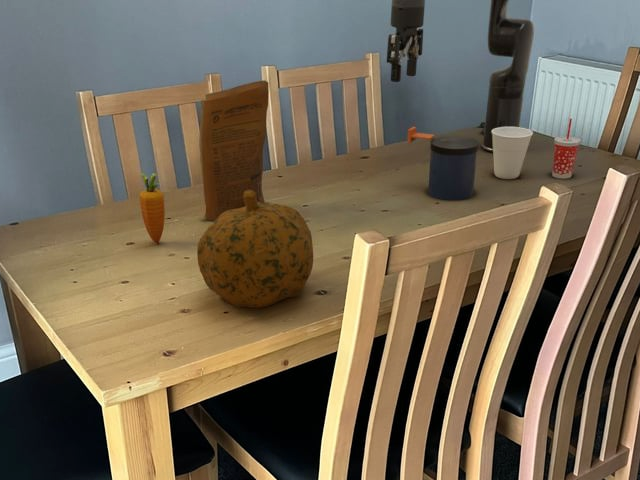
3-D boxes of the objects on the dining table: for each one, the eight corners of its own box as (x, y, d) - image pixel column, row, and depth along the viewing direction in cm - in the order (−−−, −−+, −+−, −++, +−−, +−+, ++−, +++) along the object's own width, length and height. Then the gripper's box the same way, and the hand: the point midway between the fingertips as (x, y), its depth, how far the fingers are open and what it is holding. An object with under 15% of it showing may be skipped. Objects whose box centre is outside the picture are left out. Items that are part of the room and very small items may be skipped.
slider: (407, 142, 187) (407, 129, 186) (412, 139, 190) (413, 126, 188) (429, 145, 185) (430, 132, 183) (434, 142, 187) (435, 129, 185)
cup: (531, 181, 195) (537, 136, 189) (490, 182, 195) (495, 137, 189) (521, 169, 203) (527, 126, 198) (483, 170, 204) (487, 126, 198)
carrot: (142, 241, 167) (133, 171, 159) (165, 237, 168) (157, 167, 160) (148, 249, 163) (139, 178, 155) (171, 245, 164) (164, 174, 156)
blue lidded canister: (419, 196, 188) (423, 145, 181) (437, 182, 196) (440, 133, 189) (464, 203, 183) (469, 151, 176) (480, 189, 191) (485, 139, 184)
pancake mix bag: (280, 207, 183) (277, 80, 168) (211, 227, 173) (201, 94, 158) (263, 200, 187) (259, 76, 173) (194, 218, 178) (183, 88, 163)
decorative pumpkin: (344, 293, 141) (334, 185, 130) (243, 335, 132) (224, 222, 122) (283, 261, 156) (270, 161, 145) (189, 297, 147) (168, 193, 137)
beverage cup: (556, 170, 202) (565, 114, 195) (578, 175, 198) (588, 118, 191) (544, 176, 198) (552, 119, 191) (567, 181, 195) (576, 123, 187)
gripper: (406, 0, 187) (402, 72, 195) (379, 6, 177) (375, 82, 185) (436, 2, 184) (430, 75, 192) (409, 7, 173) (404, 85, 182)
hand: (403, 78), depth 189 cm, fingers open, 8 cm apart
